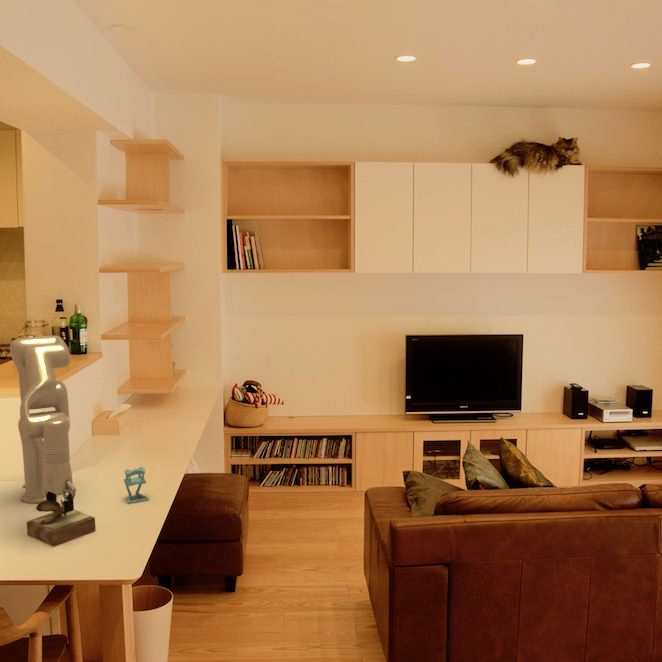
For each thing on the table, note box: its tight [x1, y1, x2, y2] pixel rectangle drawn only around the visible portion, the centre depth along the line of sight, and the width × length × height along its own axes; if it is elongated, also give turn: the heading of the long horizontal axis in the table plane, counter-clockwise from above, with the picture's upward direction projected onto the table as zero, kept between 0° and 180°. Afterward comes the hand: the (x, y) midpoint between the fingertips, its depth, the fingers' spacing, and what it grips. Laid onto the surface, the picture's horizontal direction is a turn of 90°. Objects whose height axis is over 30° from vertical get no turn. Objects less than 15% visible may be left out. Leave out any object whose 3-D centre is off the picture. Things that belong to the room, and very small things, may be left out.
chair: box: [123, 466, 150, 505], centre depth 268 cm, size 8×8×12 cm
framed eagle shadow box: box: [26, 509, 96, 547], centre depth 239 cm, size 15×15×5 cm
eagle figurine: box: [35, 499, 67, 525], centre depth 237 cm, size 8×7×9 cm
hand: (60, 508), depth 238 cm, fingers open, 9 cm apart
